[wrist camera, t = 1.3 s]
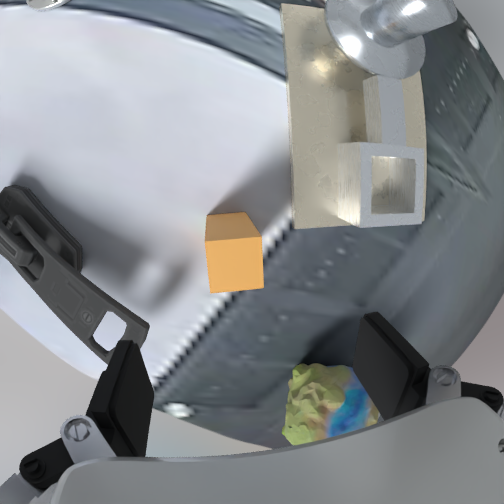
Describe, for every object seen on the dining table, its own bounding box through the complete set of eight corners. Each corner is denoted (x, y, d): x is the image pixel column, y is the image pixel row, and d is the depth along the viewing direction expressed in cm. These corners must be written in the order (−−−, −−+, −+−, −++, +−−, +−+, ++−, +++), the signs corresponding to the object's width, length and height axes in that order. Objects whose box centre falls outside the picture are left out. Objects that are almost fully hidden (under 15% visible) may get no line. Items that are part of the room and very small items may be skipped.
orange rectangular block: (206, 215, 29) (204, 241, 20) (245, 211, 30) (261, 236, 20) (210, 251, 30) (210, 293, 21) (247, 248, 31) (263, 288, 22)
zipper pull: (118, 379, 27) (-38, 246, 19) (130, 345, 33) (-8, 231, 25) (157, 329, 25) (-20, 180, 18) (166, 297, 32) (14, 173, 24)
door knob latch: (278, -5, 22) (320, -83, 8) (405, 23, 24) (479, -10, 10) (292, 226, 31) (356, 283, 17) (419, 219, 33) (505, 254, 19)
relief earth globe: (403, 448, 26) (347, 421, 22) (307, 478, 32) (233, 456, 28) (387, 370, 38) (333, 323, 34) (308, 409, 44) (246, 373, 40)
